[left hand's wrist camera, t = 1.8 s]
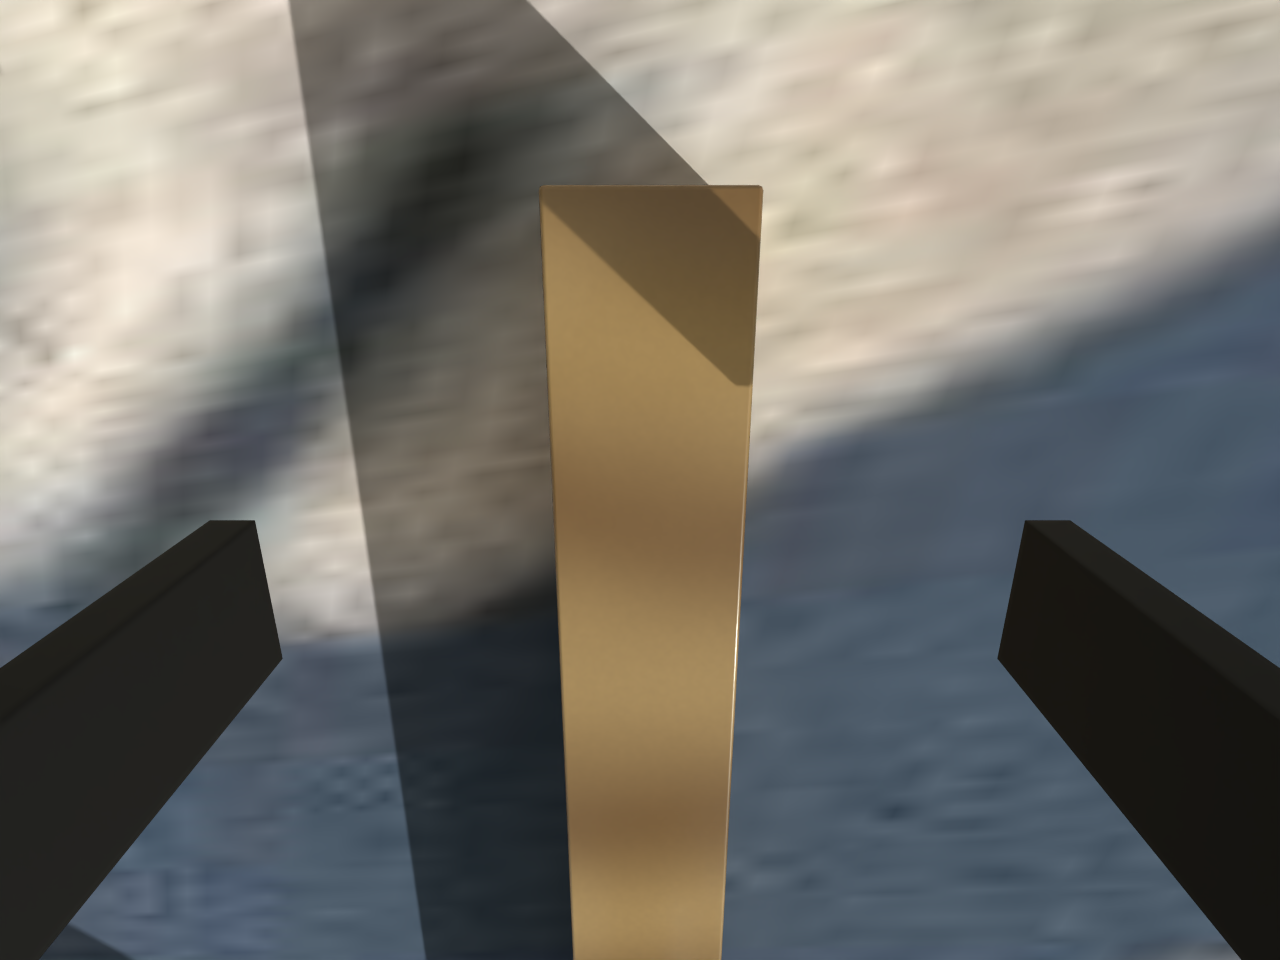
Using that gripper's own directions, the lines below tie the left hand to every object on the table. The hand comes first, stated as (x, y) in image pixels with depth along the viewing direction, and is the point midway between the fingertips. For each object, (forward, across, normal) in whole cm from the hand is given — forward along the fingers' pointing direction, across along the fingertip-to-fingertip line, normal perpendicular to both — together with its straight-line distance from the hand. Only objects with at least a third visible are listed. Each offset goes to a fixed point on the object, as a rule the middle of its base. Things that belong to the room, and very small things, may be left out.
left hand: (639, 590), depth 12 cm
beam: (+13, 0, -27) cm, 30 cm away
